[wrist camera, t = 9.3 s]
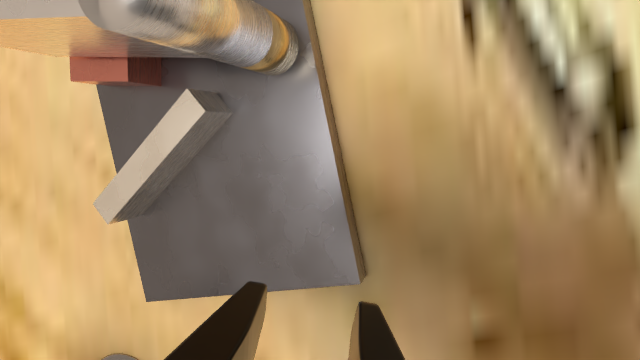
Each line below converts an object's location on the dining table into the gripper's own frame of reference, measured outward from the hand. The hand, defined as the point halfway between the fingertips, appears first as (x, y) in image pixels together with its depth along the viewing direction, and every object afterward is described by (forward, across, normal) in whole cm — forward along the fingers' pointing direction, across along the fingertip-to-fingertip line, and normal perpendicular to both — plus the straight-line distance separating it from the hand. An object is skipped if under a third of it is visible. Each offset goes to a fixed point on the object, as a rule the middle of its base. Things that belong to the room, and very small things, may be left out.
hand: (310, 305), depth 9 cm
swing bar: (+13, +10, -2) cm, 16 cm away
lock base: (+14, +7, +4) cm, 16 cm away
